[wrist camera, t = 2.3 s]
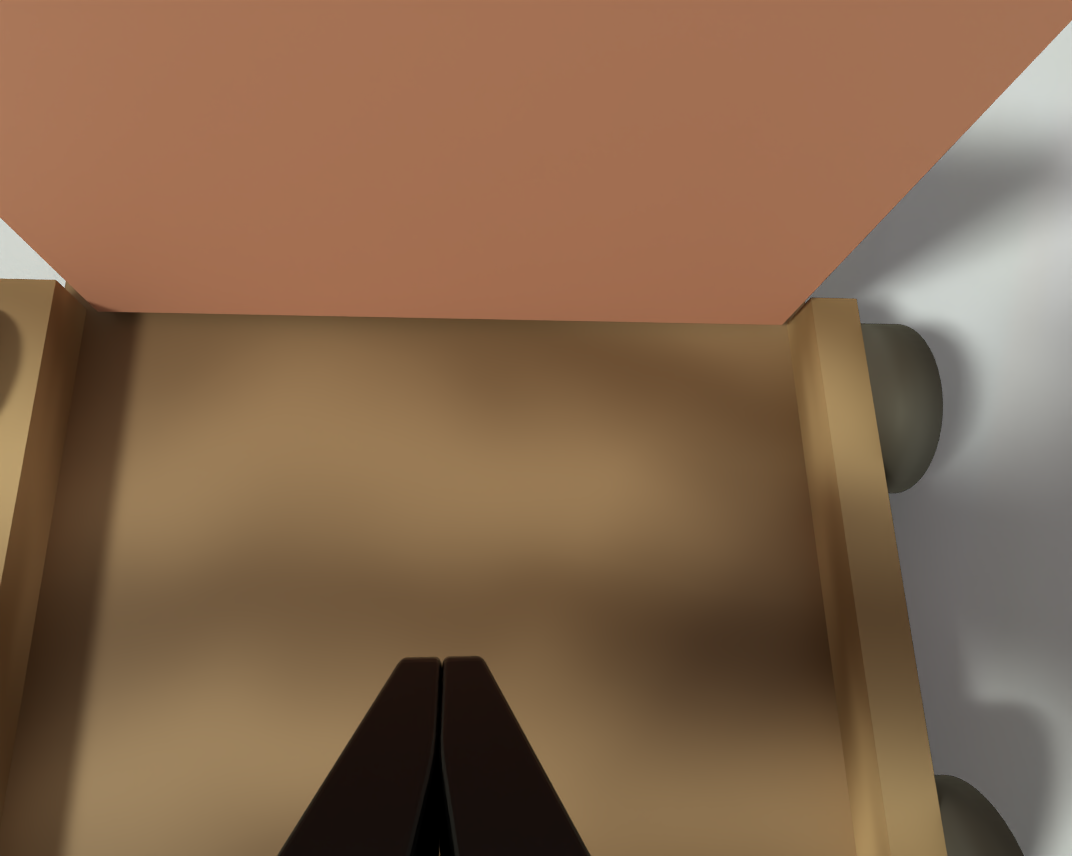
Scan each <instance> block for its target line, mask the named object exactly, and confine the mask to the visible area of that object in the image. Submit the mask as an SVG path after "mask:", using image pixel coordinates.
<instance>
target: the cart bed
mask: <svg viewBox="0 0 1072 856" xmlns="http://www.w3.org/2000/svg"><path fill="white" fill-rule="evenodd" d="M942 416H943V398H942V387H941V380H940V376H939V371H938V367H937V365H936V362H935V359H934V356H933V354H932V352H931V350H930V348H929V347H928V345H927V343H926V342H925V340H924V339H923V338H922V337H921V336H920V335H919V334H918V333H917V332H916V331H915V330H913V329H911V328H910V327H908V326H905V325H901V324H861V323H860V317H859V311H858V305H857V299H847V298H810V299H809V300H808V301H807V302H806V303H805V301H804V302H803V303H802V304H801V305H800V307H799V308H798V309H797V310H796V311H795V312H794V313H793V314H792V315H791V316H790V317H789V318H788V319H787V320H786V321H785V322H784V323H783V324H782V325H755V324H704V323H653V322H602V321H551V320H500V319H449V318H399V317H348V316H297V315H246V314H195V313H144V312H98V311H97V310H96V309H95V308H94V307H92V306H91V305H90V304H89V303H88V302H87V301H86V300H85V299H84V298H83V297H82V296H81V295H80V294H79V293H78V292H77V291H76V290H75V289H74V288H73V287H72V286H71V285H70V284H69V283H68V282H67V281H66V284H65V288H64V287H63V286H62V285H61V284H60V283H59V282H57V281H56V280H34V279H0V856H277V855H278V853H279V851H280V850H281V848H282V847H283V845H284V843H285V842H286V840H287V839H288V837H289V835H290V834H291V832H292V831H293V829H294V828H295V826H296V824H297V823H298V821H299V820H300V818H301V816H302V815H303V813H304V812H305V810H306V808H307V807H308V805H309V804H310V802H311V801H312V799H313V797H314V796H315V794H316V793H317V791H318V789H319V788H320V786H321V785H322V783H323V781H324V780H325V778H326V777H327V775H328V773H329V772H330V770H331V769H332V767H333V766H334V764H335V762H336V761H337V759H338V758H339V756H340V754H341V753H342V751H343V750H344V748H345V746H346V745H347V743H348V742H349V740H350V739H351V737H352V735H353V734H354V732H355V731H356V729H357V727H358V726H359V724H360V723H361V721H362V719H363V718H364V716H365V715H366V713H367V712H368V710H369V708H370V707H371V705H372V704H373V702H374V700H375V699H376V697H377V696H378V694H379V692H380V691H381V689H382V688H383V686H384V684H385V683H386V681H387V680H388V678H389V677H390V675H391V673H392V672H393V670H394V669H395V667H396V665H397V664H398V663H399V661H400V660H402V659H403V658H406V657H438V658H439V659H440V660H441V663H443V660H444V659H445V658H446V657H448V656H480V657H482V658H483V659H484V661H485V662H486V664H487V665H488V667H489V669H490V671H491V673H492V675H493V676H494V678H495V680H496V682H497V684H498V686H499V688H500V689H501V691H502V693H503V695H504V697H505V699H506V700H507V702H508V704H509V706H510V708H511V710H512V711H513V713H514V715H515V717H516V719H517V721H518V722H519V724H520V726H521V728H522V730H523V732H524V734H525V735H526V737H527V739H528V741H529V743H530V745H531V746H532V748H533V750H534V752H535V754H536V756H537V757H538V759H539V761H540V763H541V765H542V767H543V768H544V770H545V772H546V774H547V776H548V778H549V780H550V781H551V783H552V785H553V787H554V789H555V791H556V792H557V794H558V796H559V798H560V800H561V802H562V803H563V805H564V807H565V809H566V811H567V813H568V814H569V816H570V818H571V820H572V822H573V824H574V826H575V827H576V829H577V831H578V833H579V835H580V837H581V838H582V840H583V842H584V844H585V846H586V848H587V849H588V851H589V853H590V855H591V856H1024V855H1023V853H1022V851H1021V849H1020V847H1019V845H1018V843H1017V841H1016V840H1015V838H1014V836H1013V834H1012V832H1011V831H1010V829H1009V828H1008V826H1007V824H1006V823H1005V821H1004V820H1003V819H1002V817H1001V816H1000V814H999V813H998V812H997V810H996V809H995V808H994V807H993V806H992V804H991V803H990V802H989V801H988V800H987V799H986V798H985V797H984V796H983V795H982V794H981V793H980V792H979V791H978V790H977V789H975V788H974V787H973V786H971V785H970V784H969V783H967V782H965V781H963V780H961V779H959V778H956V777H954V776H948V775H934V771H933V765H932V759H931V753H930V747H929V741H928V734H927V728H926V722H925V716H924V710H923V704H922V698H921V691H920V685H919V679H918V673H917V667H916V661H915V655H914V648H913V642H912V636H911V630H910V624H909V618H908V612H907V606H906V599H905V593H904V587H903V581H902V575H901V569H900V563H899V556H898V550H897V544H896V538H895V532H894V526H893V520H892V514H891V507H890V501H889V495H888V493H900V492H903V491H905V490H907V489H909V488H911V487H912V486H913V485H915V484H916V483H917V482H918V481H919V480H920V479H921V477H922V476H923V475H924V473H925V472H926V470H927V469H928V467H929V465H930V463H931V461H932V459H933V456H934V454H935V451H936V448H937V444H938V441H939V437H940V431H941V425H942ZM439 856H440V853H439Z"/></svg>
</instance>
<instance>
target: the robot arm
mask: <svg viewBox="0 0 1072 856" xmlns="http://www.w3.org/2000/svg"><path fill="white" fill-rule="evenodd" d="M439 853H440V856H591V855H590V853H589V851H588V849H587V848H586V846H585V844H584V842H583V840H582V838H581V837H580V835H579V833H578V831H577V829H576V827H575V826H574V824H573V822H572V820H571V818H570V816H569V814H568V813H567V811H566V809H565V807H564V805H563V803H562V802H561V800H560V798H559V796H558V794H557V792H556V791H555V789H554V787H553V785H552V783H551V781H550V780H549V778H548V776H547V774H546V772H545V770H544V768H543V767H542V765H541V763H540V761H539V759H538V757H537V756H536V754H535V752H534V750H533V748H532V746H531V745H530V743H529V741H528V739H527V737H526V735H525V734H524V732H523V730H522V728H521V726H520V724H519V722H518V721H517V719H516V717H515V715H514V713H513V711H512V710H511V708H510V706H509V704H508V702H507V700H506V699H505V697H504V695H503V693H502V691H501V689H500V688H499V686H498V684H497V682H496V680H495V678H494V676H493V675H492V673H491V671H490V669H489V667H488V665H487V664H486V662H485V661H484V659H483V658H482V657H480V656H448V657H446V658H445V659H444V660H443V663H441V660H440V659H439V658H438V657H406V658H403V659H402V660H400V661H399V663H398V664H397V665H396V667H395V669H394V670H393V672H392V673H391V675H390V677H389V678H388V680H387V681H386V683H385V684H384V686H383V688H382V689H381V691H380V692H379V694H378V696H377V697H376V699H375V700H374V702H373V704H372V705H371V707H370V708H369V710H368V712H367V713H366V715H365V716H364V718H363V719H362V721H361V723H360V724H359V726H358V727H357V729H356V731H355V732H354V734H353V735H352V737H351V739H350V740H349V742H348V743H347V745H346V746H345V748H344V750H343V751H342V753H341V754H340V756H339V758H338V759H337V761H336V762H335V764H334V766H333V767H332V769H331V770H330V772H329V773H328V775H327V777H326V778H325V780H324V781H323V783H322V785H321V786H320V788H319V789H318V791H317V793H316V794H315V796H314V797H313V799H312V801H311V802H310V804H309V805H308V807H307V808H306V810H305V812H304V813H303V815H302V816H301V818H300V820H299V821H298V823H297V824H296V826H295V828H294V829H293V831H292V832H291V834H290V835H289V837H288V839H287V840H286V842H285V843H284V845H283V847H282V848H281V850H280V851H279V853H278V855H277V856H439Z"/></svg>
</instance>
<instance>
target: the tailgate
mask: <svg viewBox="0 0 1072 856" xmlns="http://www.w3.org/2000/svg"><path fill="white" fill-rule="evenodd" d="M1071 20H1072V0H0V218H1V219H2V220H3V221H5V222H6V223H7V224H8V225H9V226H10V227H11V228H12V229H13V230H14V231H15V232H16V233H17V234H18V235H19V236H20V237H21V238H22V239H23V240H24V241H25V242H26V243H27V244H28V245H29V246H30V247H31V248H32V249H33V250H35V251H36V252H37V253H38V254H39V255H40V256H41V257H42V258H43V259H44V260H45V261H46V262H47V263H48V264H49V265H50V266H51V267H52V268H53V269H54V270H55V271H56V272H57V273H58V274H59V275H60V276H61V277H62V278H64V279H65V280H66V281H67V282H68V283H69V284H70V285H71V286H72V287H73V288H74V289H75V290H76V291H77V292H78V293H79V294H80V295H81V296H82V297H83V298H84V299H85V300H86V301H87V302H88V303H89V304H90V305H91V306H92V307H94V308H95V309H96V310H97V311H98V312H144V313H195V314H246V315H297V316H348V317H399V318H449V319H500V320H551V321H602V322H653V323H704V324H755V325H782V324H783V323H784V322H785V321H786V320H787V319H788V318H789V317H790V316H791V315H792V314H793V313H794V312H795V311H796V310H797V309H798V308H799V307H800V305H801V304H802V303H803V302H804V301H805V300H806V299H807V298H808V297H809V296H810V295H811V294H812V293H813V292H814V291H815V290H816V289H817V288H818V287H819V286H820V284H821V283H822V282H823V281H824V280H825V279H826V278H827V277H828V276H829V275H830V274H831V273H832V272H833V271H834V270H835V269H836V268H837V267H838V266H839V264H840V263H841V262H842V261H843V260H844V259H845V258H846V257H847V256H848V255H849V254H850V253H851V252H852V251H853V250H854V249H855V248H856V247H857V246H858V244H859V243H860V242H861V241H862V240H863V239H864V238H865V237H866V236H867V235H868V234H869V233H870V232H871V231H872V230H873V229H874V228H875V227H876V226H877V225H878V223H879V222H880V221H881V220H882V219H883V218H884V217H885V216H886V215H887V214H888V213H889V212H890V211H891V210H892V209H893V208H894V207H895V206H896V205H897V203H898V202H899V201H900V200H901V199H902V198H903V197H904V196H905V195H906V194H907V193H908V192H909V191H910V190H911V189H912V188H913V187H914V186H915V185H916V183H917V182H918V181H919V180H920V179H921V178H922V177H923V176H924V175H925V174H926V173H927V172H928V171H929V170H930V169H931V168H932V167H933V166H934V165H935V164H936V162H937V161H938V160H939V159H940V158H941V157H942V156H943V155H944V154H945V153H946V152H947V151H948V150H949V149H950V148H951V147H952V146H953V145H954V144H955V142H956V141H957V140H958V139H959V138H960V137H961V136H962V135H963V134H964V133H965V132H966V131H967V130H968V129H969V128H970V127H971V126H972V125H973V124H974V122H975V121H976V120H977V119H978V118H979V117H980V116H981V115H982V114H983V113H984V112H985V111H986V110H987V109H988V108H989V107H990V106H991V105H992V104H993V103H994V101H995V100H996V99H997V98H998V97H999V96H1000V95H1001V94H1002V93H1003V92H1004V91H1005V90H1006V89H1007V88H1008V87H1009V86H1010V85H1011V84H1012V83H1013V81H1014V80H1015V79H1016V78H1017V77H1018V76H1019V75H1020V74H1021V73H1022V72H1023V71H1024V70H1025V69H1026V68H1027V67H1028V66H1029V65H1030V64H1031V63H1032V61H1033V60H1034V59H1035V58H1036V57H1037V56H1038V55H1039V54H1040V53H1041V52H1042V51H1043V50H1044V49H1045V48H1046V47H1047V46H1048V45H1049V44H1050V43H1051V42H1052V40H1053V39H1054V38H1055V37H1056V36H1057V35H1058V34H1059V33H1060V32H1061V31H1062V30H1063V29H1064V28H1065V27H1066V26H1067V25H1068V24H1069V23H1070V22H1071Z"/></svg>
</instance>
